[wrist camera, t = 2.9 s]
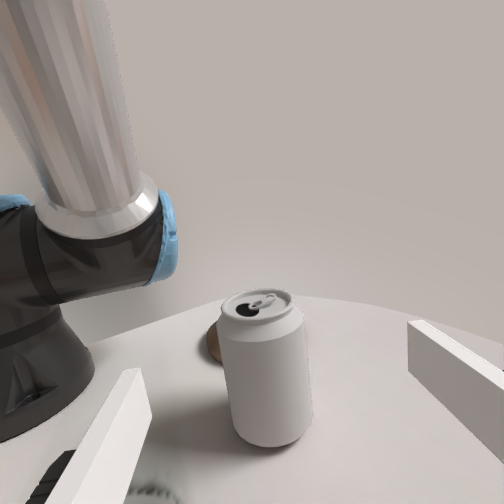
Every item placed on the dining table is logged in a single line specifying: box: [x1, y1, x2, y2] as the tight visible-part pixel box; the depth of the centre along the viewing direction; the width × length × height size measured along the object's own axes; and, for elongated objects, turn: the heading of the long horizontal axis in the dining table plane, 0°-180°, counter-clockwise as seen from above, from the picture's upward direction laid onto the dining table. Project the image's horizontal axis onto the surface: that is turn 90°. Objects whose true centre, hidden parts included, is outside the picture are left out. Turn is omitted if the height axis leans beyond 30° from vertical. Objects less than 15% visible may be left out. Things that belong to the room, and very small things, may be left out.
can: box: [216, 288, 313, 447], centre depth 25 cm, size 8×8×12 cm
